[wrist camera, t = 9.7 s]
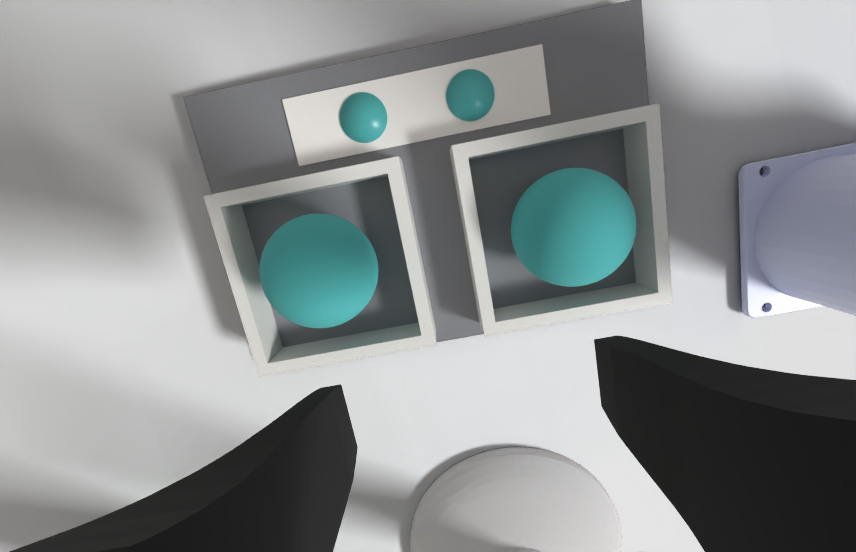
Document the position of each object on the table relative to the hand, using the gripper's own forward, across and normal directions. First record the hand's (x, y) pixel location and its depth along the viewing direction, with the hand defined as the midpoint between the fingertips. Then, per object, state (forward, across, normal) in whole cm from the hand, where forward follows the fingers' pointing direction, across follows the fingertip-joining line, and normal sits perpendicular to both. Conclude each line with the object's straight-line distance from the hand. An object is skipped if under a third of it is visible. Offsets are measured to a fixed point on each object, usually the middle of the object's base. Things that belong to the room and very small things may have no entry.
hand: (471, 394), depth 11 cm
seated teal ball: (+9, -6, -3) cm, 11 cm away
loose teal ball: (+9, +5, -3) cm, 11 cm away
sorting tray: (+10, 0, -5) cm, 12 cm away
